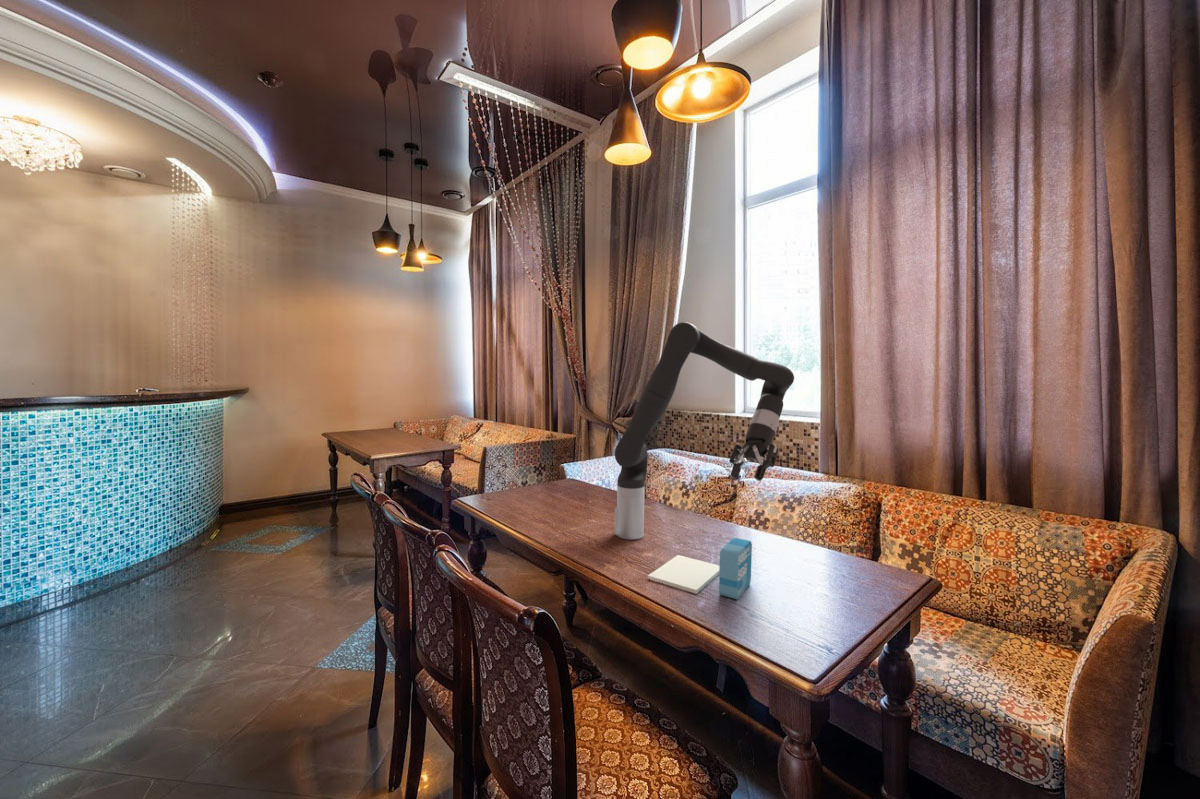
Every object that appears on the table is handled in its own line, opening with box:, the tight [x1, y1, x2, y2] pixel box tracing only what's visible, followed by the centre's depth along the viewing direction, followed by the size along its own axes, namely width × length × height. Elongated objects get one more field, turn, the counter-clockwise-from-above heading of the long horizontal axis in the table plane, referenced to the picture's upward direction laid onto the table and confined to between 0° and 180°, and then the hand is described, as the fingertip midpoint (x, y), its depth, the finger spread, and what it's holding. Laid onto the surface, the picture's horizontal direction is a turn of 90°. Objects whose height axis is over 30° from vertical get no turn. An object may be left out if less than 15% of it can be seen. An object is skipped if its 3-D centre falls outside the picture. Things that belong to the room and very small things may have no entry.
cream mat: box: [647, 554, 720, 595], centre depth 127 cm, size 14×18×1 cm
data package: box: [718, 537, 753, 601], centre depth 118 cm, size 12×4×12 cm, turn 146°
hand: (745, 478), depth 129 cm, fingers open, 8 cm apart
